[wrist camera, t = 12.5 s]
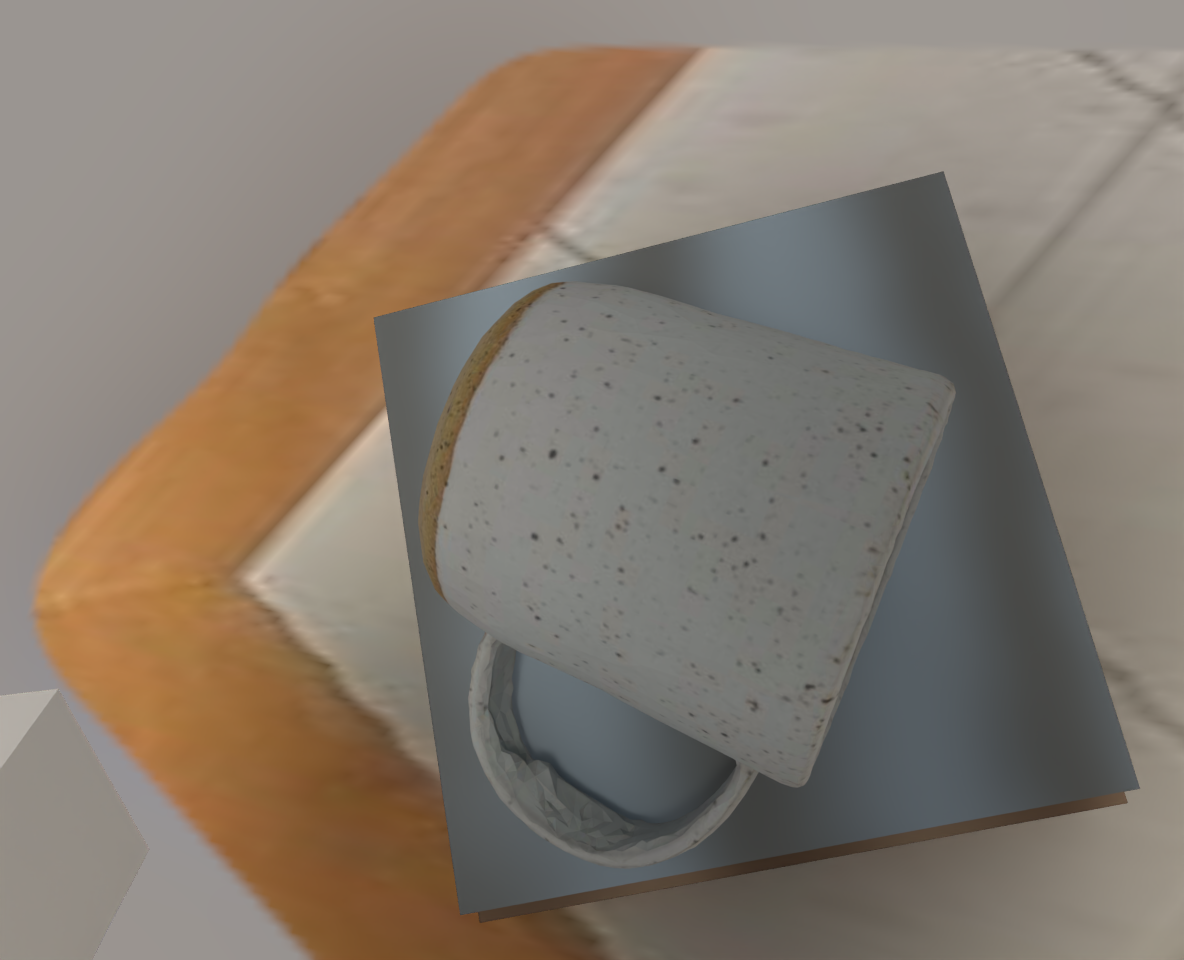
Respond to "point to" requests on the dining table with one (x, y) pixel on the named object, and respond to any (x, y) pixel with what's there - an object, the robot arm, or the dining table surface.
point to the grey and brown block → (900, 626)
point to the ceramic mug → (669, 534)
